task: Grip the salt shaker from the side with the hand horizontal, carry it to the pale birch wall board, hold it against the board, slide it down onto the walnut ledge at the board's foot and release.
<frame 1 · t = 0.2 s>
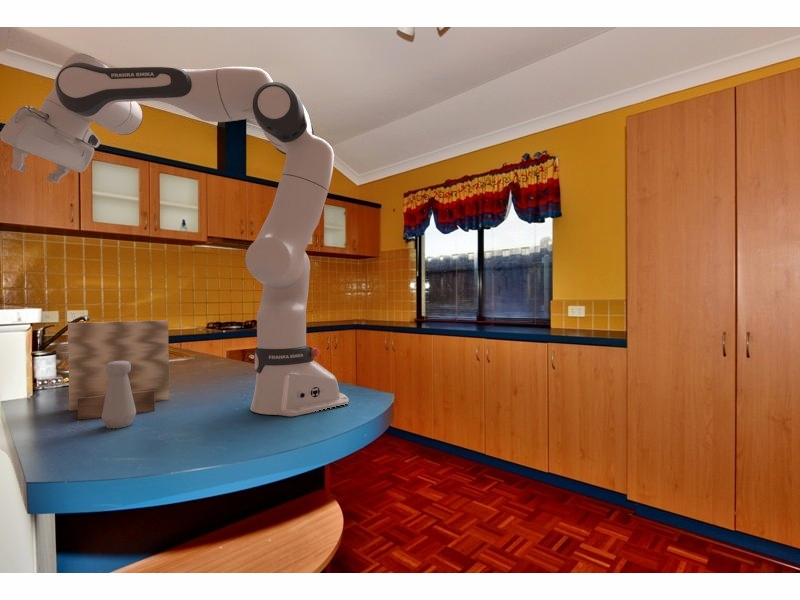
hand: (35, 176, 95), 54 cm above the counter, tool tilted 30°, fingers open, 8 cm apart
salt shaker: (119, 426, 84), on the counter
wall board: (122, 403, 101), on the counter
cleat ledge: (119, 409, 96), on the counter
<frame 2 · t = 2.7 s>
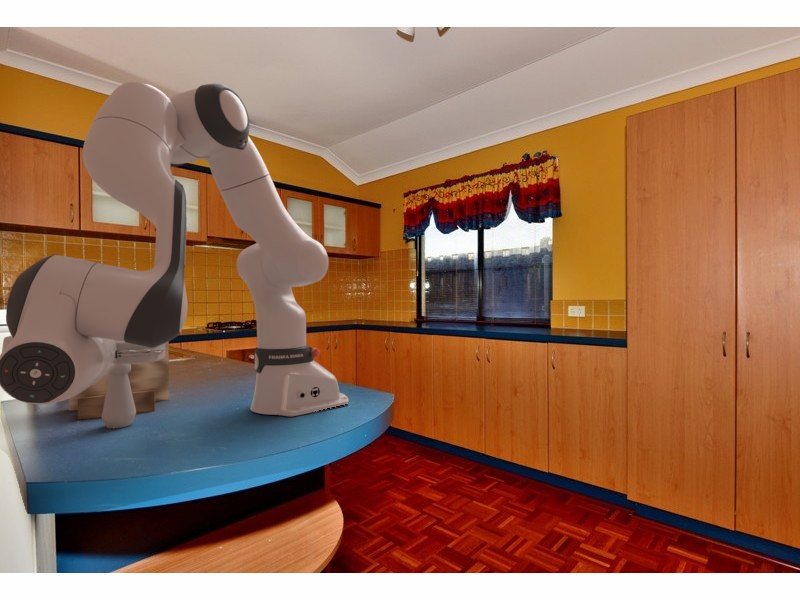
hand: (103, 347, 73), 17 cm above the counter, tool horizontal, fingers open, 8 cm apart
nothing on the counter moved.
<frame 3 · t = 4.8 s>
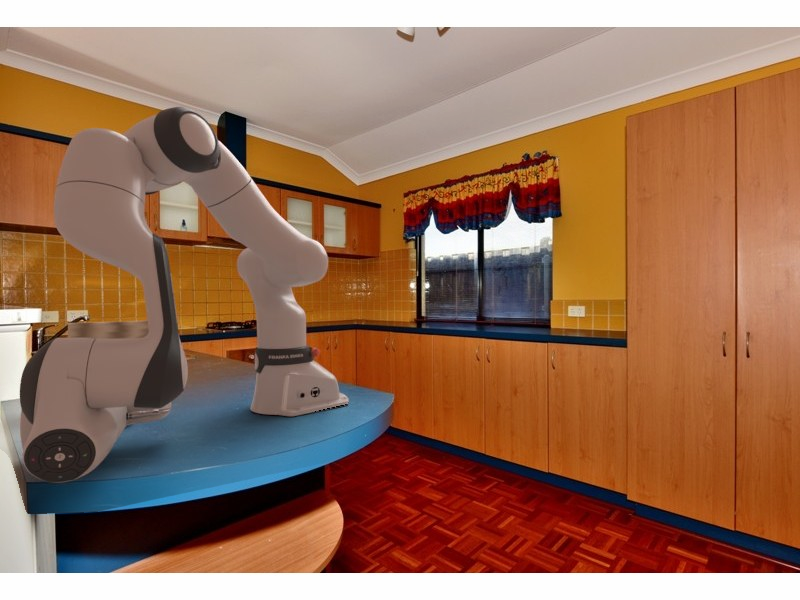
hand: (111, 400, 77), 7 cm above the counter, tool horizontal, fingers open, 8 cm apart
nothing on the counter moved.
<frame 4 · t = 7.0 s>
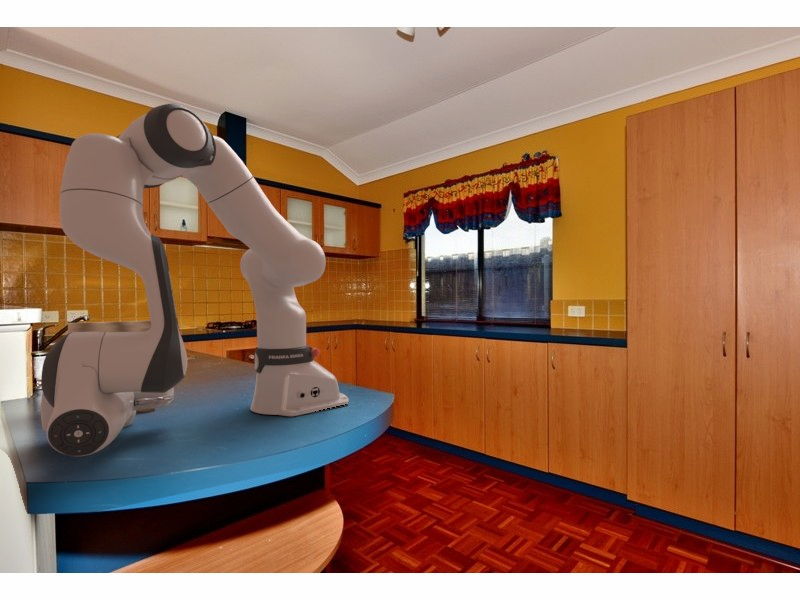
hand: (119, 389, 85), 7 cm above the counter, tool horizontal, fingers closed on salt shaker, 3 cm apart
salt shaker: (119, 426, 84), on the counter, touching gripper
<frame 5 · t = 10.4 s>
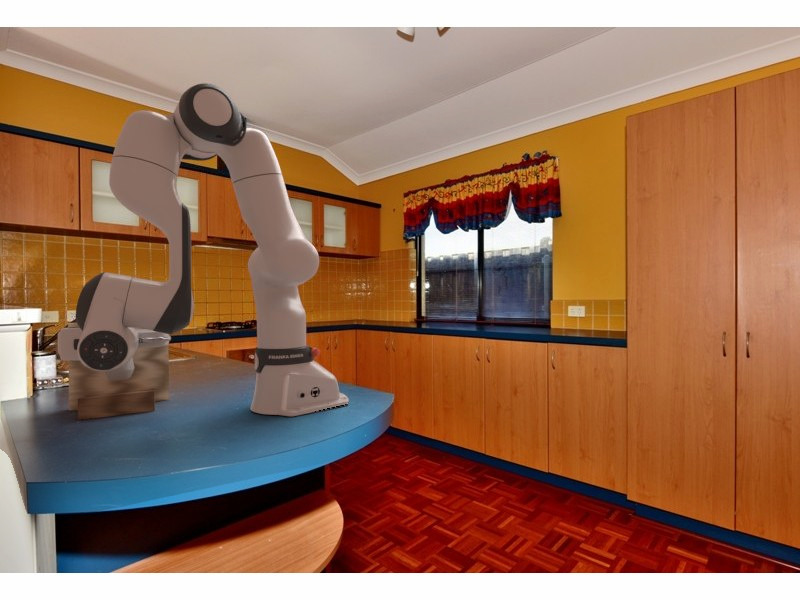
hand: (119, 336, 97), 17 cm above the counter, tool horizontal, fingers closed on salt shaker, 3 cm apart
salt shaker: (119, 379, 96), point 7 cm above the counter, touching gripper
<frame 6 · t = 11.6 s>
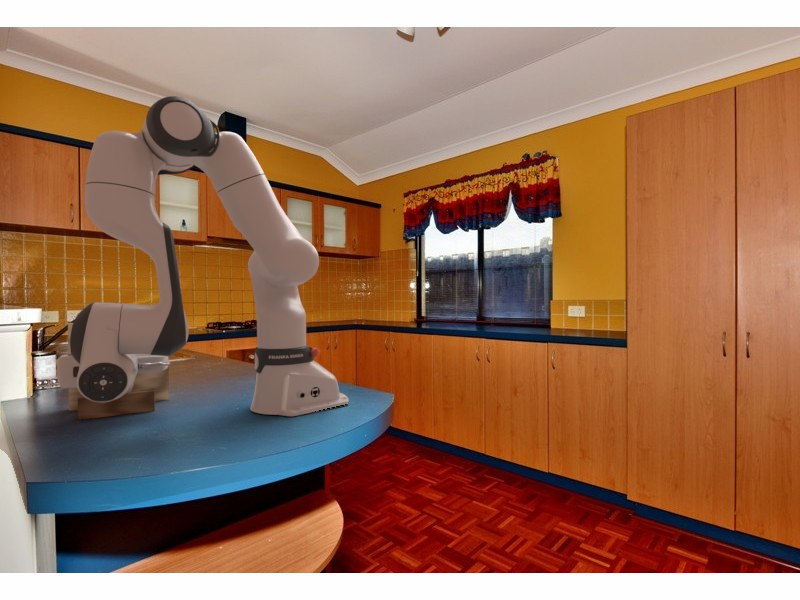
hand: (118, 359, 97), 11 cm above the counter, tool horizontal, fingers closed on salt shaker, 3 cm apart
salt shaker: (118, 396, 96), point 3 cm above the counter, touching cleat ledge, gripper
when the fingers open (11 cm above the counter, at t = 11.9 s): salt shaker stays where it is, resting on cleat ledge.
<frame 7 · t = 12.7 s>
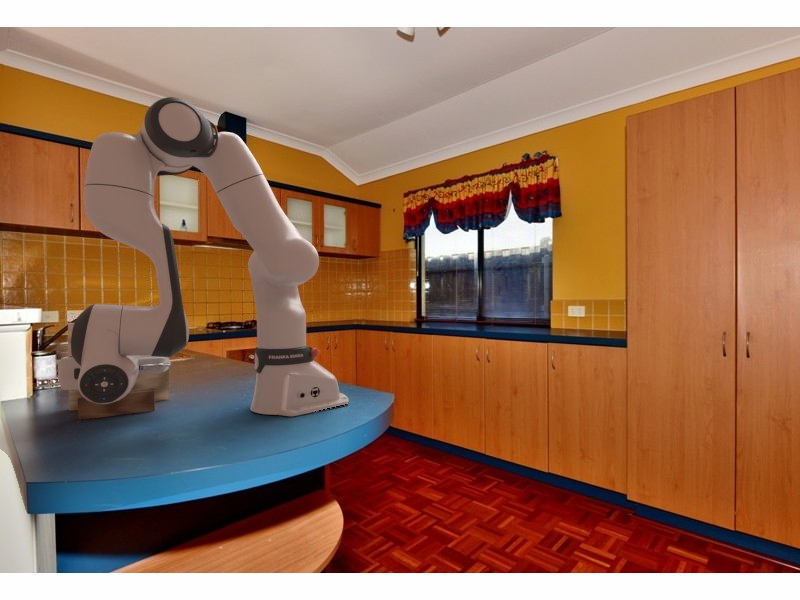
hand: (119, 360, 97), 11 cm above the counter, tool horizontal, fingers open, 8 cm apart
salt shaker: (118, 396, 96), point 3 cm above the counter, touching cleat ledge
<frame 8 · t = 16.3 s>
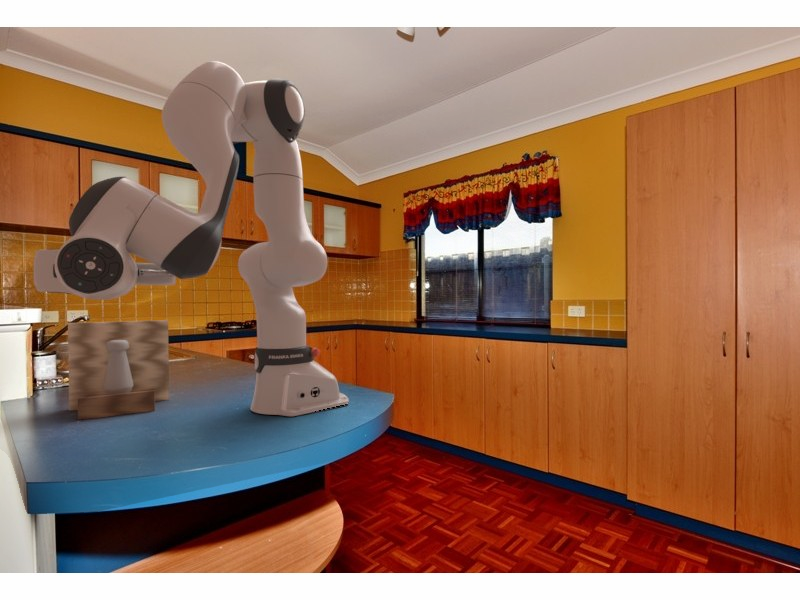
hand: (114, 275, 78), 30 cm above the counter, tool horizontal, fingers open, 8 cm apart
nothing on the counter moved.
at the end: salt shaker inside the target area (0.5 cm from its centre), point 2.8 cm above the counter; salt shaker tilted 0°; the gripper is holding nothing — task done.
